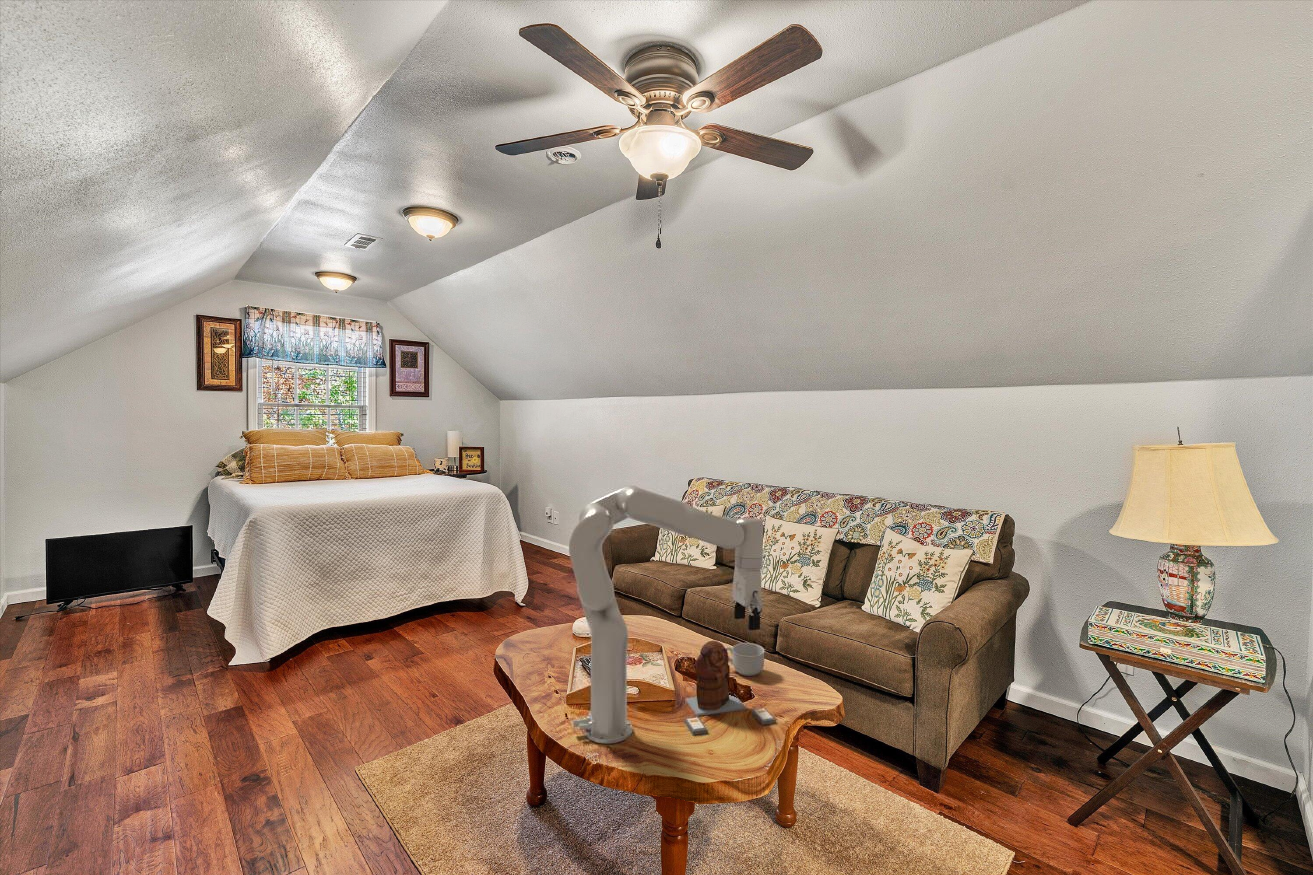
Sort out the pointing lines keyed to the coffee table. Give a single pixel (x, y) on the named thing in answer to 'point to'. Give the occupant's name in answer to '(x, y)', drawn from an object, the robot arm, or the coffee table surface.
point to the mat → (730, 705)
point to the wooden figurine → (712, 676)
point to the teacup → (747, 658)
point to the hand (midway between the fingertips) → (746, 623)
